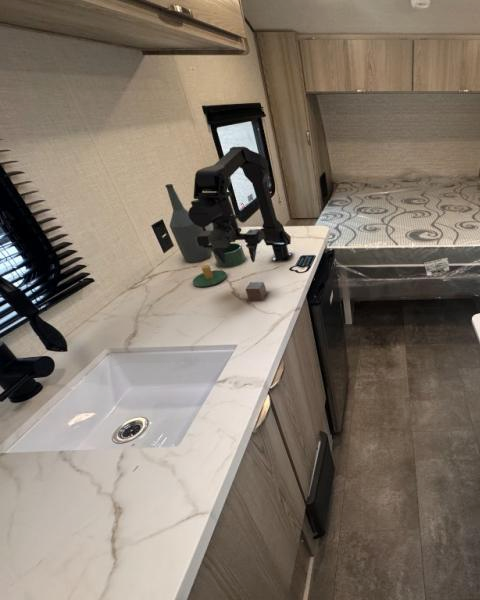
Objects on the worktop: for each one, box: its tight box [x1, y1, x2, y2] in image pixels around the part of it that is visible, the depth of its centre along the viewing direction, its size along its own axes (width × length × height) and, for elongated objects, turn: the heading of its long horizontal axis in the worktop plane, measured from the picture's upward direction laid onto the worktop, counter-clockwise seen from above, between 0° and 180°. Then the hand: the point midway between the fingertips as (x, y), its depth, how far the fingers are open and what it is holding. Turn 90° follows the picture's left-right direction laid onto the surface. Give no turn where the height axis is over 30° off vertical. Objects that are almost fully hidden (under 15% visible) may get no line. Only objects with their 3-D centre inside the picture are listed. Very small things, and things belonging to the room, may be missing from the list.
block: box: [245, 281, 268, 302], centre depth 108 cm, size 4×4×4 cm
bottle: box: [165, 183, 212, 264], centre depth 128 cm, size 10×10×30 cm
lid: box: [192, 264, 227, 287], centre depth 118 cm, size 11×11×6 cm
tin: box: [212, 242, 246, 268], centre depth 131 cm, size 10×10×6 cm
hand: (239, 262), depth 104 cm, fingers open, 9 cm apart
